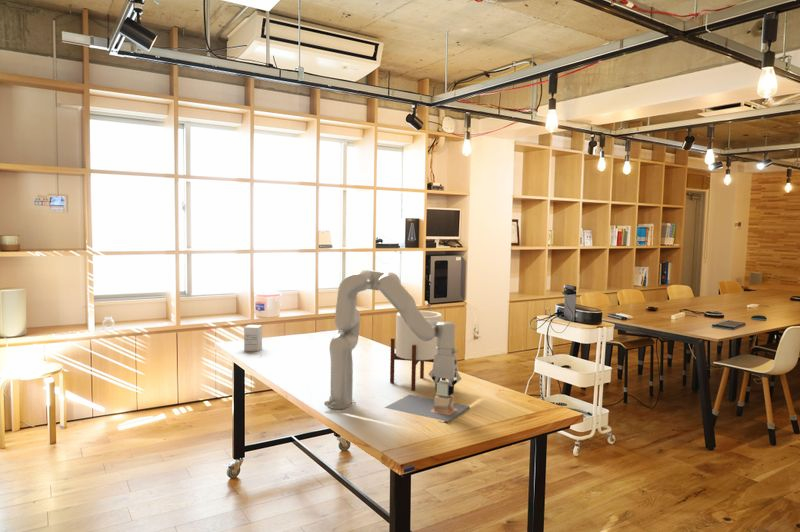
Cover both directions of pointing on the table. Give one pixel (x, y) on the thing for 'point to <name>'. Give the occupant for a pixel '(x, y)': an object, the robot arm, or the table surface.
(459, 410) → the board
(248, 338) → the supplement box
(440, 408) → the maple block
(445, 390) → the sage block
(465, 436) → the table surface
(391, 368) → the plant pot with stand
